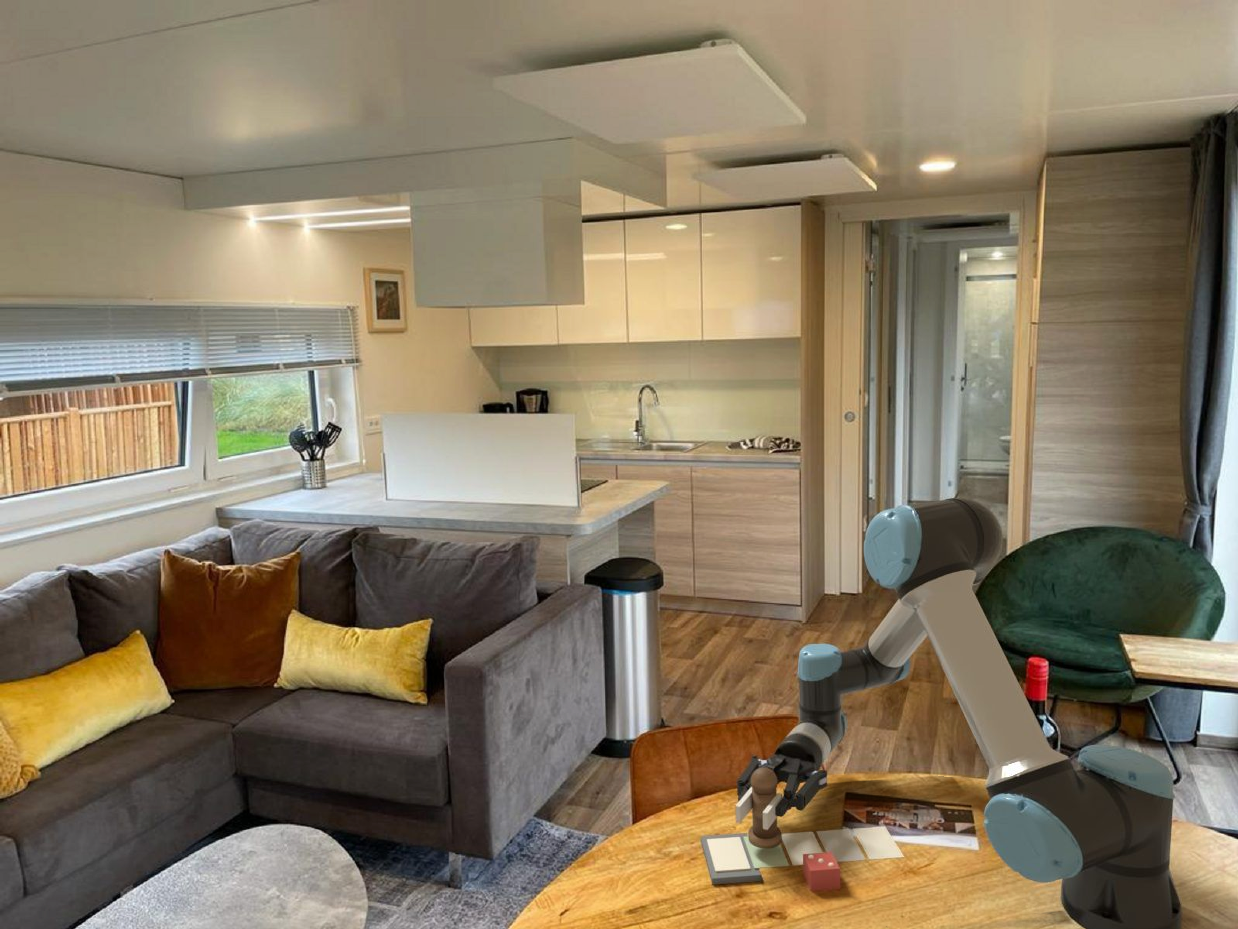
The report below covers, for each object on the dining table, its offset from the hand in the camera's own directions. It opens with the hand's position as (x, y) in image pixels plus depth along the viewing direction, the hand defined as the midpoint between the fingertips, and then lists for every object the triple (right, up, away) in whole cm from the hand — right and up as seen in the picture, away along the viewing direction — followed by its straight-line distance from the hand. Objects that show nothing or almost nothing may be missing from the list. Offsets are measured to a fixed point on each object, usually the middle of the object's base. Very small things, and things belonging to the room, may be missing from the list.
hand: (751, 817), depth 146 cm
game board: (+9, -8, +6) cm, 14 cm away
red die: (+10, -10, -2) cm, 14 cm away
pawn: (+3, -6, +6) cm, 8 cm away
